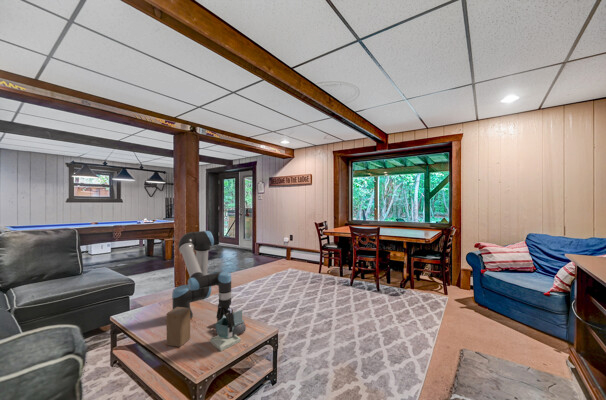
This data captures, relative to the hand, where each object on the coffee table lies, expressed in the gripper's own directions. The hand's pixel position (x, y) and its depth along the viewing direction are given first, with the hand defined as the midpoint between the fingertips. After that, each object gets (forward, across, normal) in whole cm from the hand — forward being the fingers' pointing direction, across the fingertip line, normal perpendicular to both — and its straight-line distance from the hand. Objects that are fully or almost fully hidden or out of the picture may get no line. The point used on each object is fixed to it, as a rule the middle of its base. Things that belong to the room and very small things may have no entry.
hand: (225, 333), depth 159 cm
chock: (+5, -22, +10) cm, 24 cm away
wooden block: (+6, -21, -20) cm, 30 cm away
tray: (+5, 0, 0) cm, 5 cm away
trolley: (+5, -9, +10) cm, 15 cm away
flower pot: (+2, 0, 0) cm, 2 cm away
